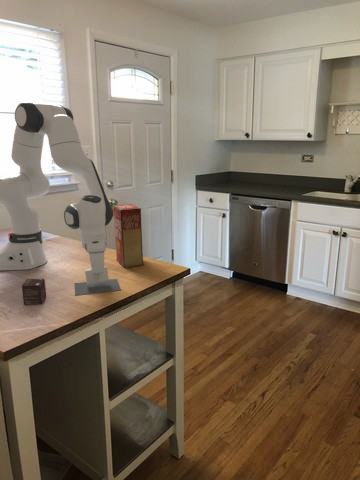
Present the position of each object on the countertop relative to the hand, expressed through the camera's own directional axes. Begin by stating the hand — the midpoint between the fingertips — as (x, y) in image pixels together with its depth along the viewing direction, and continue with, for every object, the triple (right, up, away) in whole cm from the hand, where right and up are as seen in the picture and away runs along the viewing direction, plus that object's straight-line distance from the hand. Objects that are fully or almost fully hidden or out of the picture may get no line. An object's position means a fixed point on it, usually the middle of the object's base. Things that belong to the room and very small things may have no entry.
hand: (96, 277), depth 142 cm
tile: (0, -1, 0) cm, 2 cm away
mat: (0, -4, 0) cm, 4 cm away
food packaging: (+8, +4, +28) cm, 30 cm away
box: (-18, -7, -12) cm, 23 cm away
